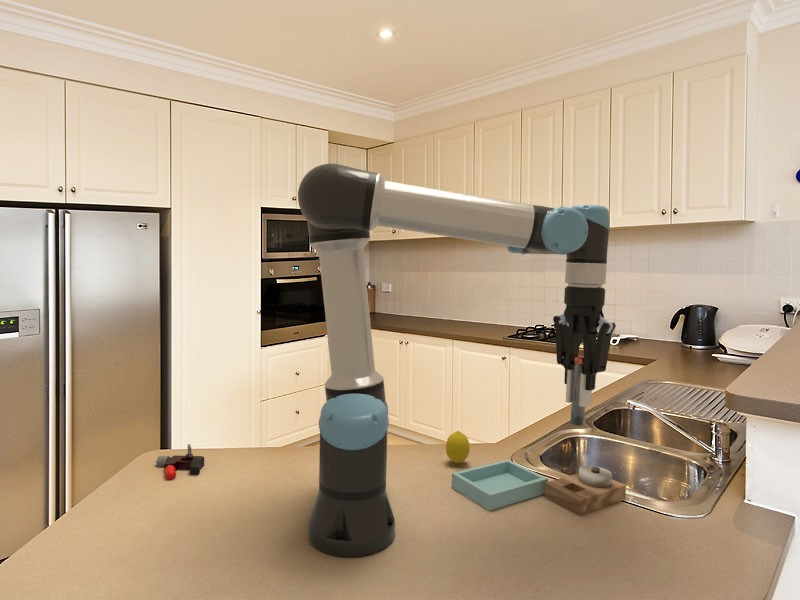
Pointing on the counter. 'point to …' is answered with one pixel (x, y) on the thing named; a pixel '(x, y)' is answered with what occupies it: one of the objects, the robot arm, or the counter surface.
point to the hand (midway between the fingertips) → (578, 403)
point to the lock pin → (577, 393)
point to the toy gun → (180, 464)
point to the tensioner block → (585, 490)
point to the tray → (498, 484)
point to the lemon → (457, 447)
